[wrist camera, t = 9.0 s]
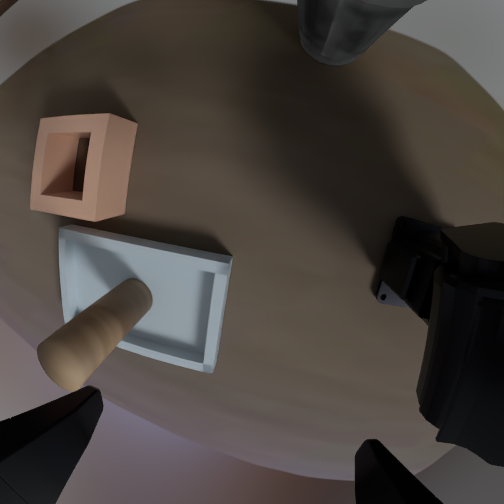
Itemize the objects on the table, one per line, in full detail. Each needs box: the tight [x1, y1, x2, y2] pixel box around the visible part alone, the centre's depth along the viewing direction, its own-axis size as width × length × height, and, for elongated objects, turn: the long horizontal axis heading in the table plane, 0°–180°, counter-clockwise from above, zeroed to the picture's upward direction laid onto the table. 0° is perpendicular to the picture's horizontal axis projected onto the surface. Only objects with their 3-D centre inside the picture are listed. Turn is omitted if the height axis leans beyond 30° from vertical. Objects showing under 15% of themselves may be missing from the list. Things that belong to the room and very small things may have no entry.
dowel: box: [37, 278, 153, 392], centre depth 15 cm, size 3×3×10 cm
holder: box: [30, 113, 138, 222], centre depth 17 cm, size 7×7×4 cm
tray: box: [59, 224, 233, 374], centre depth 20 cm, size 14×9×2 cm, turn 80°
